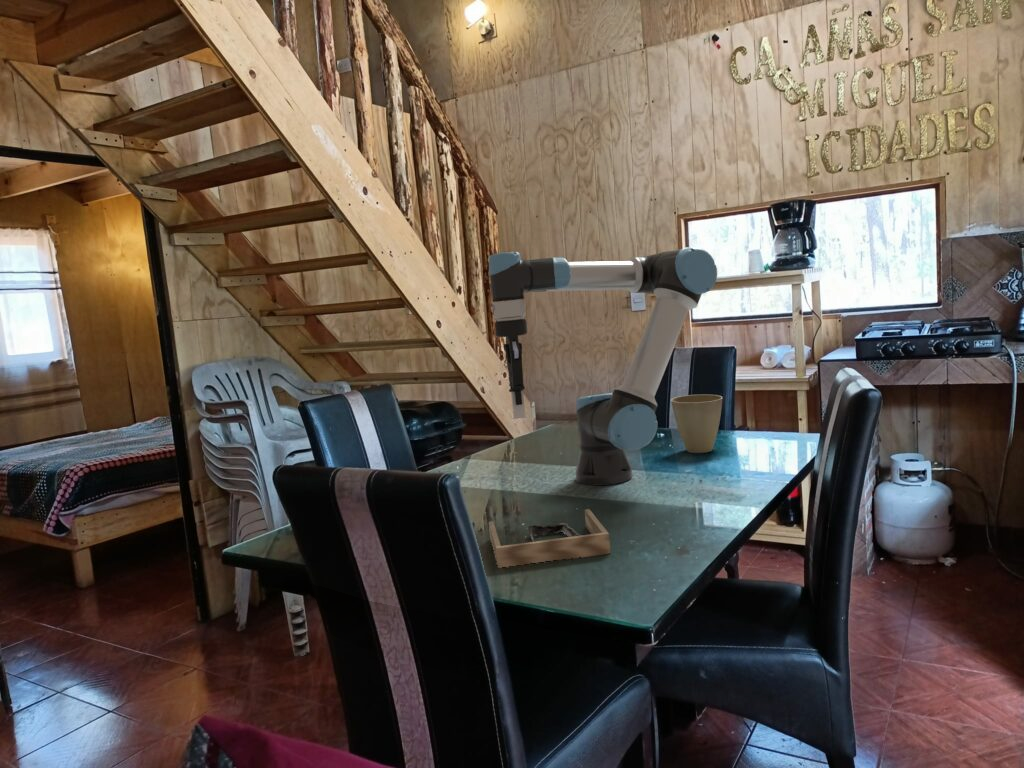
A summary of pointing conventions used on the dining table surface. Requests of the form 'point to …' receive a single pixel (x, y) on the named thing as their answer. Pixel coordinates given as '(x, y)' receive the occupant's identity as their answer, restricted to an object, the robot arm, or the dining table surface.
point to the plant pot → (697, 420)
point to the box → (553, 546)
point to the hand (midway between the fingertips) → (519, 417)
